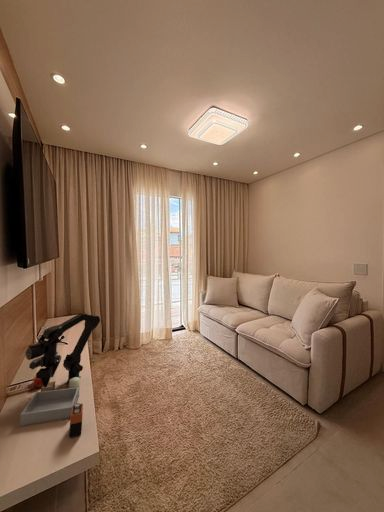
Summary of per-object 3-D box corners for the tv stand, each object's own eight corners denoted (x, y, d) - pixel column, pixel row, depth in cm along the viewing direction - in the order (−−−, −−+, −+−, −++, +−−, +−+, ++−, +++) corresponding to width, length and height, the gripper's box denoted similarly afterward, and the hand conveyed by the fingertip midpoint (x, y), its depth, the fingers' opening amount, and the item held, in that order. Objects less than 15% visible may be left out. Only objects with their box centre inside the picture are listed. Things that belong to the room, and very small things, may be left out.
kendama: (33, 377, 127) (29, 389, 112) (36, 366, 129) (32, 376, 114) (48, 377, 131) (46, 388, 116) (51, 366, 132) (49, 375, 117)
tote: (35, 402, 104) (36, 392, 104) (79, 396, 110) (79, 386, 110) (19, 426, 89) (20, 414, 89) (71, 418, 95) (71, 407, 95)
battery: (82, 423, 92) (83, 400, 92) (81, 435, 86) (82, 410, 86) (70, 426, 90) (72, 403, 90) (69, 439, 84) (70, 413, 84)
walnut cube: (44, 391, 112) (44, 382, 113) (54, 390, 114) (55, 381, 114) (40, 397, 108) (40, 387, 108) (51, 396, 109) (51, 386, 109)
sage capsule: (70, 390, 114) (70, 377, 114) (80, 389, 116) (80, 376, 116) (67, 396, 109) (68, 382, 110) (78, 394, 111) (78, 381, 111)
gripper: (39, 346, 118) (38, 374, 118) (23, 362, 100) (22, 395, 100) (62, 345, 121) (60, 372, 121) (50, 359, 103) (48, 391, 103)
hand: (48, 381), depth 111 cm, fingers open, 9 cm apart
